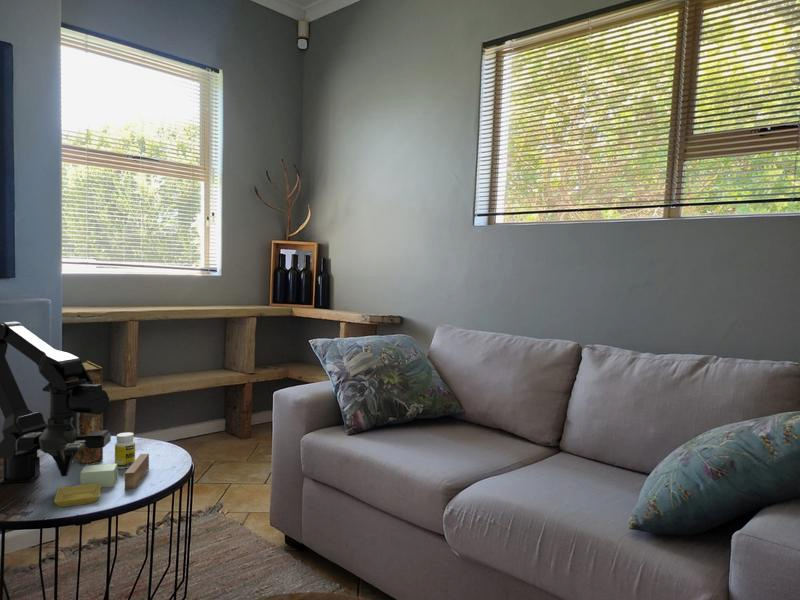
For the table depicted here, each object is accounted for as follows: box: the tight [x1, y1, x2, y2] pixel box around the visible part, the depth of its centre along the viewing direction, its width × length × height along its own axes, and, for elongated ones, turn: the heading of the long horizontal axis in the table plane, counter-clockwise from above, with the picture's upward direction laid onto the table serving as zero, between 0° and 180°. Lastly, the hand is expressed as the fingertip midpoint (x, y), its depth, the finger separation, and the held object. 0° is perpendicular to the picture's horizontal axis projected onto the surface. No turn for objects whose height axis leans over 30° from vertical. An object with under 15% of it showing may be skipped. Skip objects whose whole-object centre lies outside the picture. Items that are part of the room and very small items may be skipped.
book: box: [65, 360, 104, 466], centre depth 154 cm, size 16×6×25 cm, turn 43°
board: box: [124, 453, 150, 491], centre depth 138 cm, size 2×14×4 cm, turn 11°
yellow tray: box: [53, 483, 102, 508], centre depth 126 cm, size 9×9×2 cm
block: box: [79, 463, 118, 488], centre depth 135 cm, size 7×5×4 cm
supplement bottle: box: [114, 432, 136, 470], centre depth 147 cm, size 5×5×8 cm
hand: (64, 476), depth 134 cm, fingers closed
